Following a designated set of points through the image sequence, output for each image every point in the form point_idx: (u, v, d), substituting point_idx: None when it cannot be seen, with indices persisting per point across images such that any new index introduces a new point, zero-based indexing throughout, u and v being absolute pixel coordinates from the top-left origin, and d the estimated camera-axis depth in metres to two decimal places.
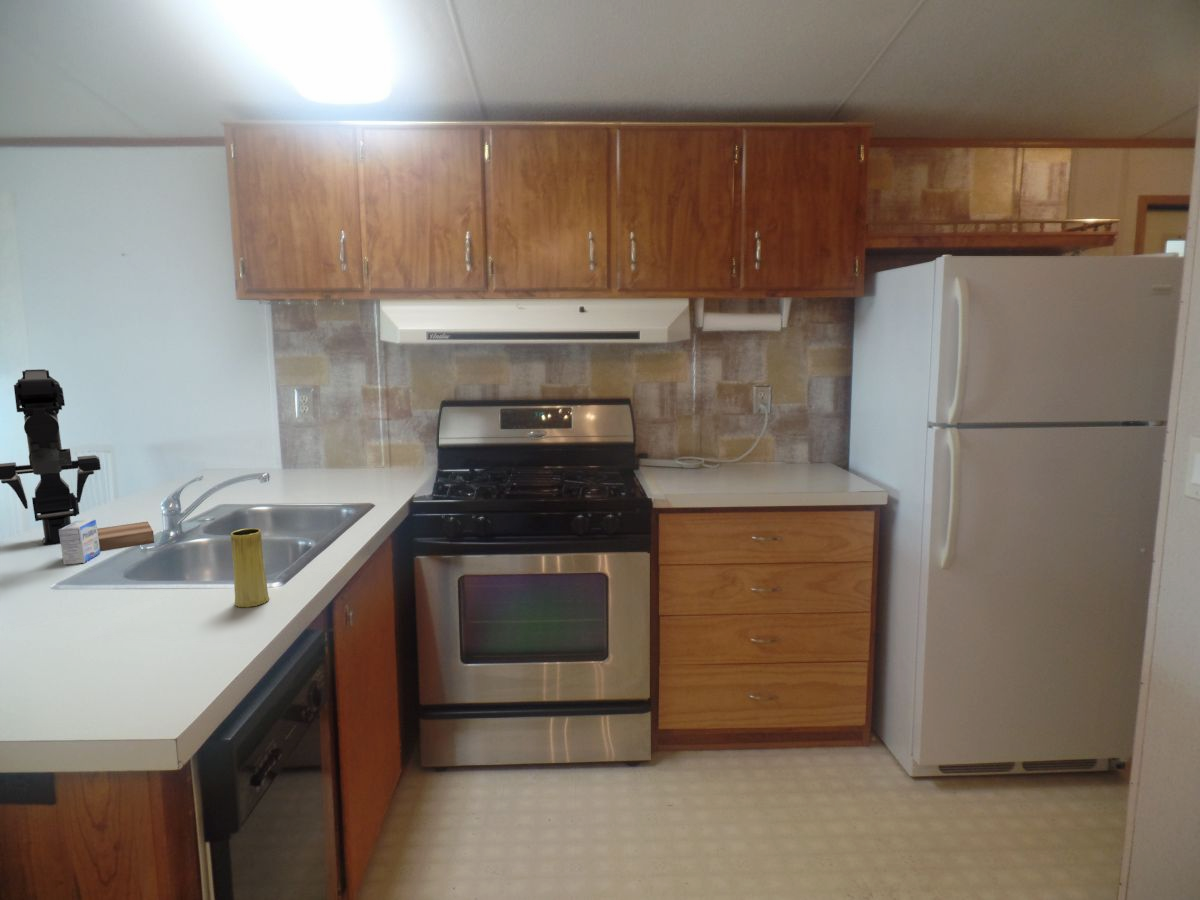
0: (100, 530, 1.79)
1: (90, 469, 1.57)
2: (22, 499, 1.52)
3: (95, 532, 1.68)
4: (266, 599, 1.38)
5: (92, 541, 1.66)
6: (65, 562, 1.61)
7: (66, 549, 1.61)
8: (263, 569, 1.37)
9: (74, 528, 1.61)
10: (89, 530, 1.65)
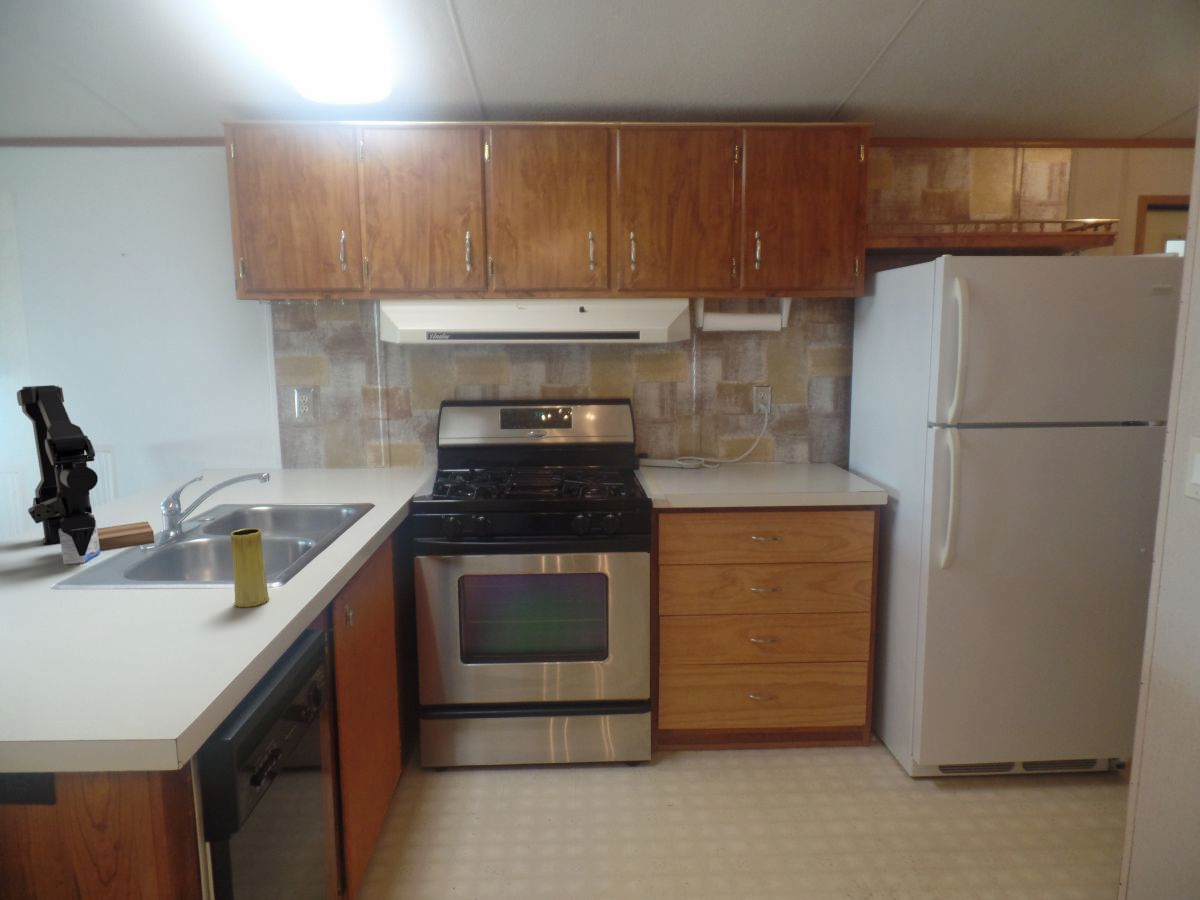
0: (100, 530, 1.79)
1: None
2: None
3: (95, 531, 1.68)
4: (266, 599, 1.38)
5: (91, 540, 1.66)
6: (65, 562, 1.61)
7: (66, 549, 1.61)
8: (263, 569, 1.37)
9: None
10: None
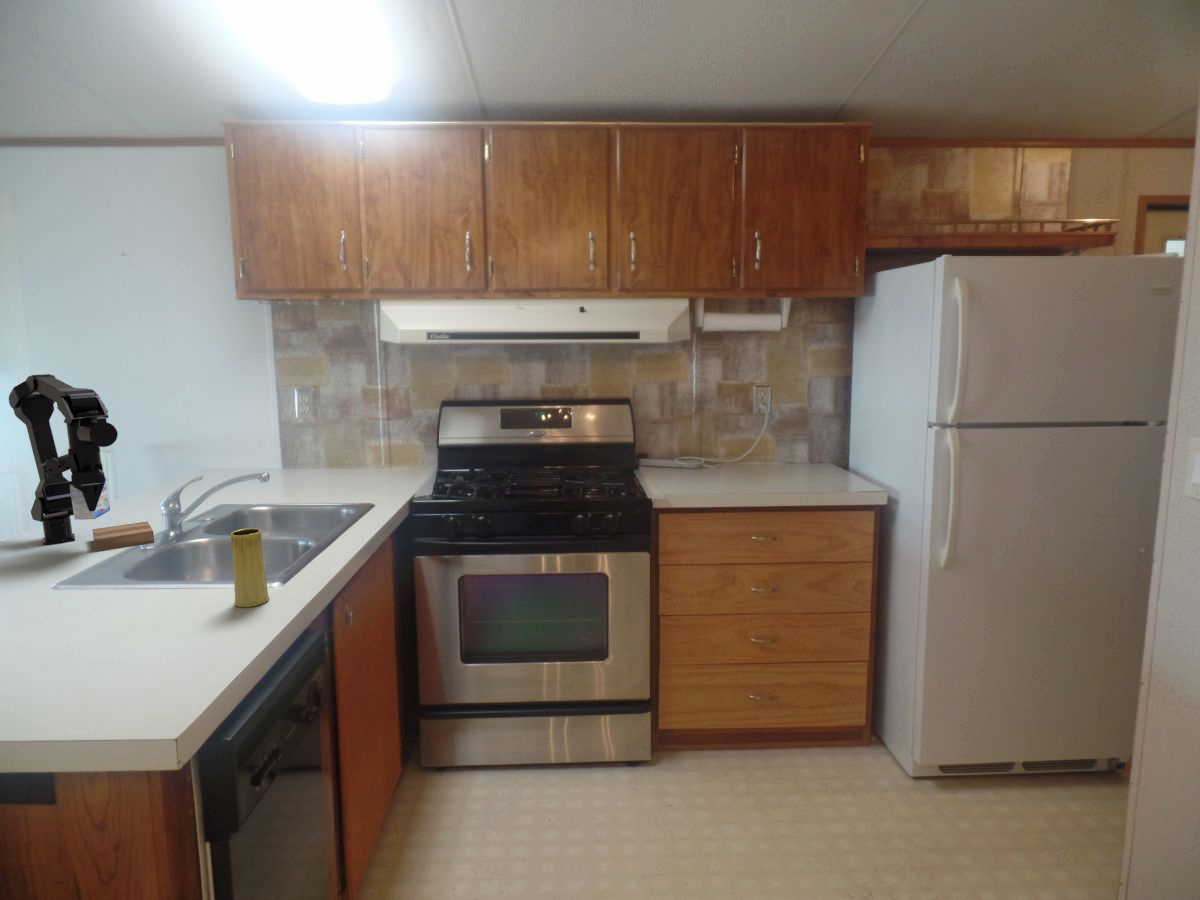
0: (100, 530, 1.79)
1: None
2: None
3: (105, 489, 1.71)
4: (266, 599, 1.38)
5: (102, 497, 1.69)
6: (76, 517, 1.65)
7: (77, 504, 1.64)
8: (263, 569, 1.37)
9: None
10: None
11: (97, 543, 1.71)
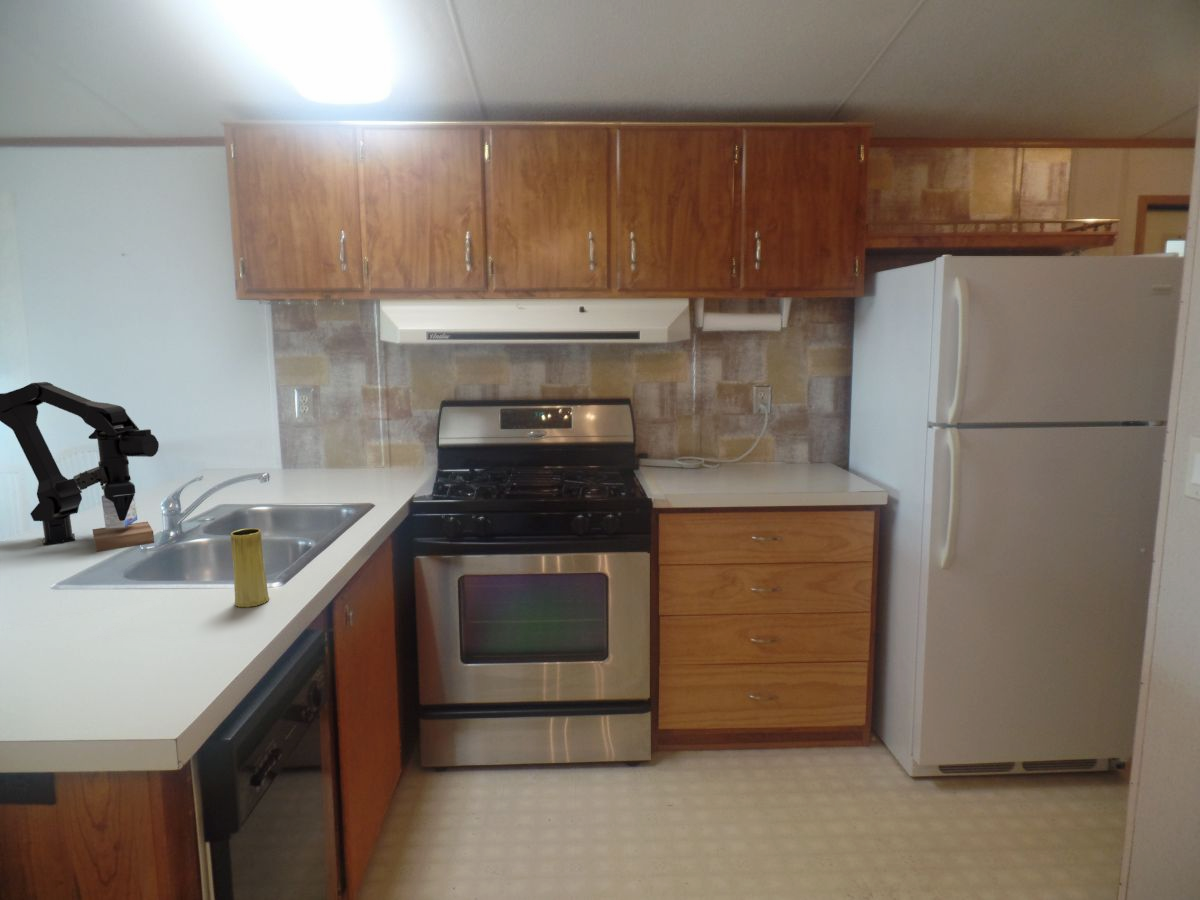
0: (100, 530, 1.79)
1: (104, 494, 1.70)
2: None
3: (133, 499, 1.81)
4: (266, 599, 1.38)
5: (130, 507, 1.79)
6: (107, 526, 1.75)
7: (108, 514, 1.74)
8: (263, 569, 1.37)
9: None
10: None
11: (97, 543, 1.71)
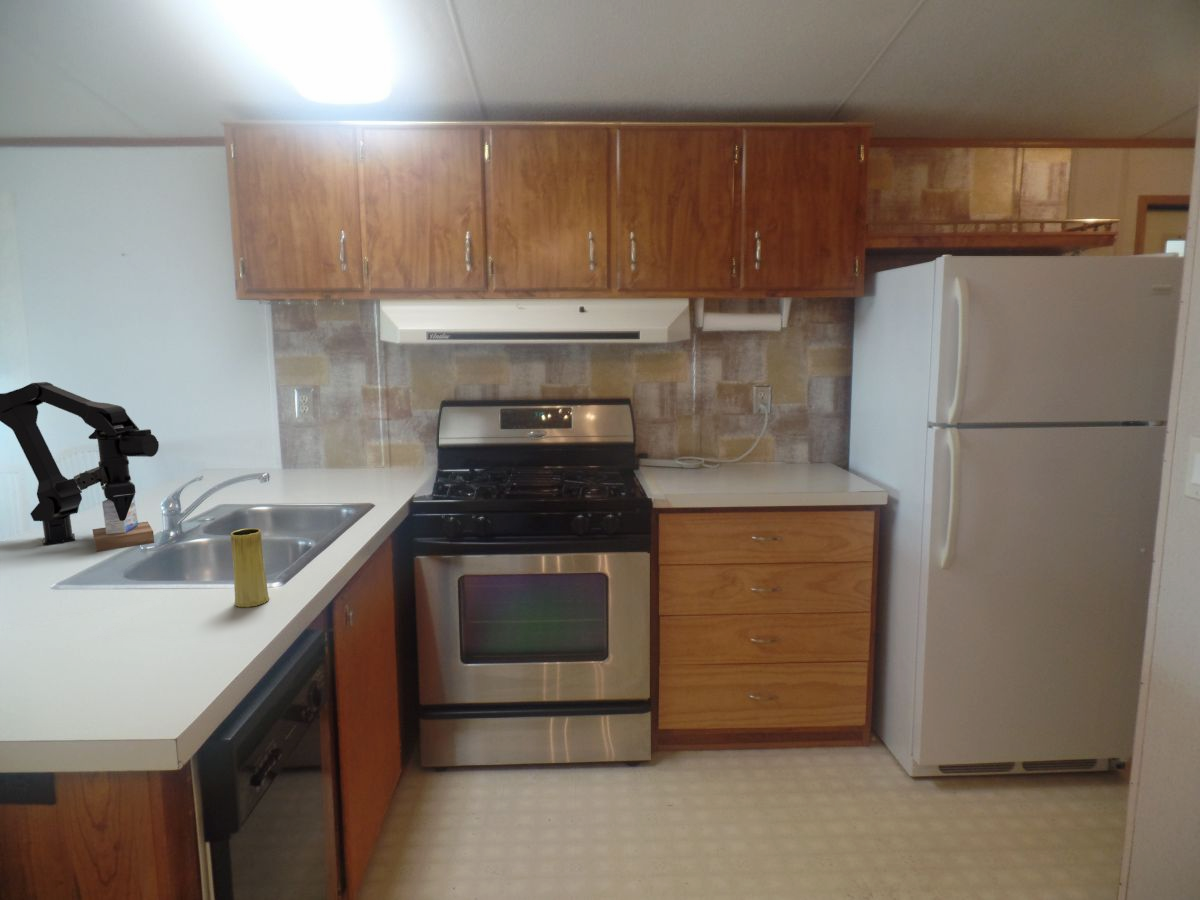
0: (100, 530, 1.79)
1: (104, 494, 1.70)
2: None
3: (133, 505, 1.81)
4: (266, 599, 1.38)
5: (131, 513, 1.79)
6: (108, 532, 1.75)
7: (109, 520, 1.75)
8: (263, 569, 1.37)
9: None
10: None
11: (97, 543, 1.71)
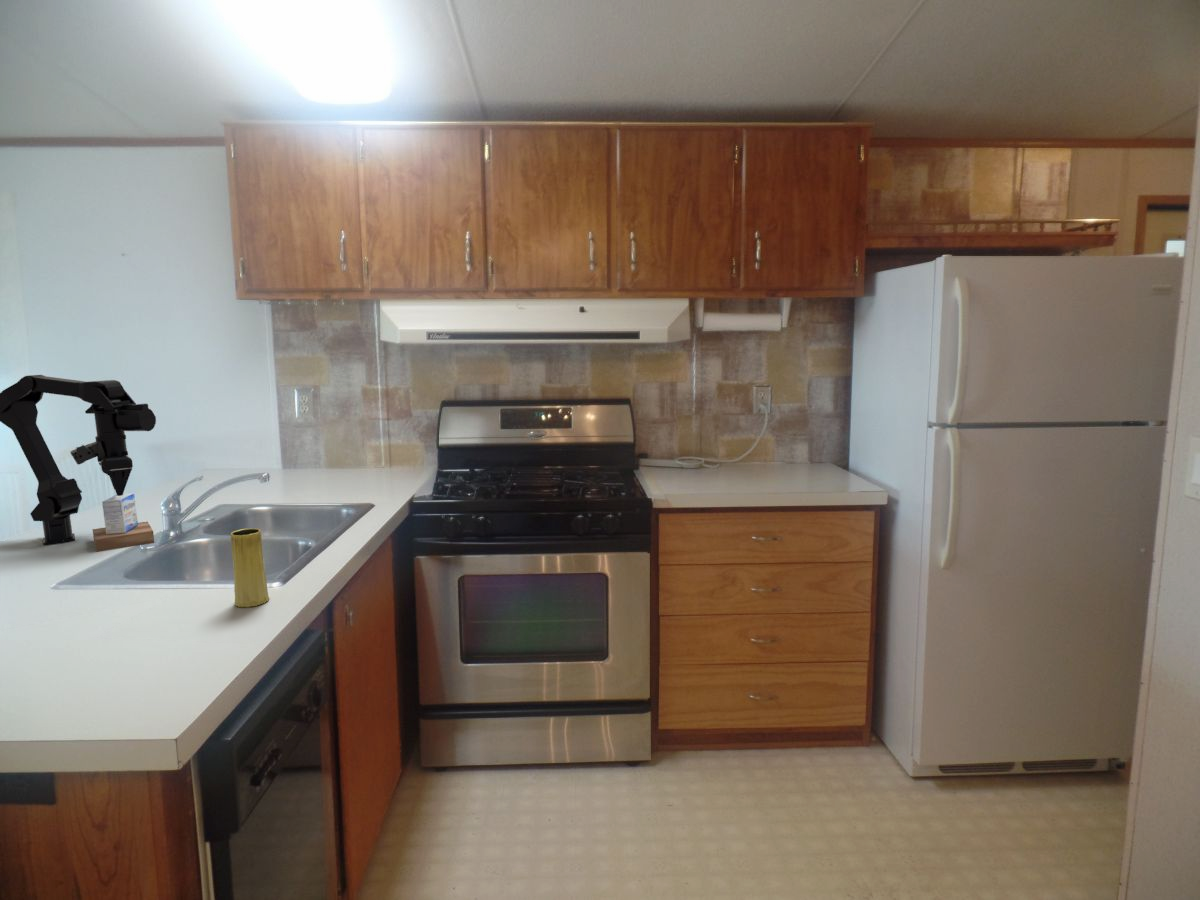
0: (100, 530, 1.79)
1: (101, 468, 1.69)
2: (111, 481, 1.80)
3: (133, 505, 1.81)
4: (266, 599, 1.38)
5: (131, 513, 1.79)
6: (108, 532, 1.75)
7: (109, 520, 1.75)
8: (263, 569, 1.37)
9: (116, 500, 1.74)
10: (129, 503, 1.79)
11: (97, 543, 1.71)
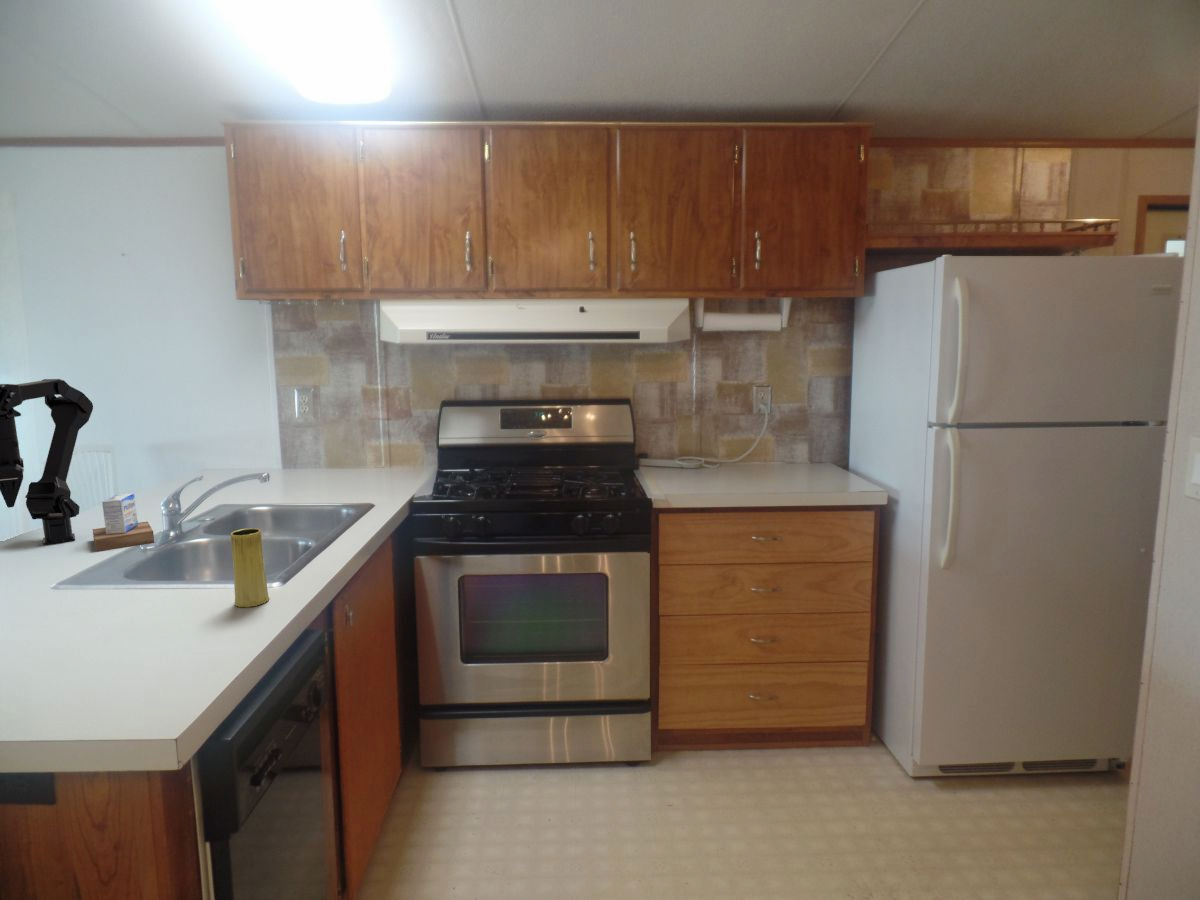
0: (100, 530, 1.79)
1: None
2: None
3: (133, 505, 1.81)
4: (266, 599, 1.38)
5: (131, 513, 1.79)
6: (108, 532, 1.75)
7: (109, 520, 1.75)
8: (263, 569, 1.37)
9: (116, 500, 1.74)
10: (129, 503, 1.79)
11: (97, 543, 1.71)
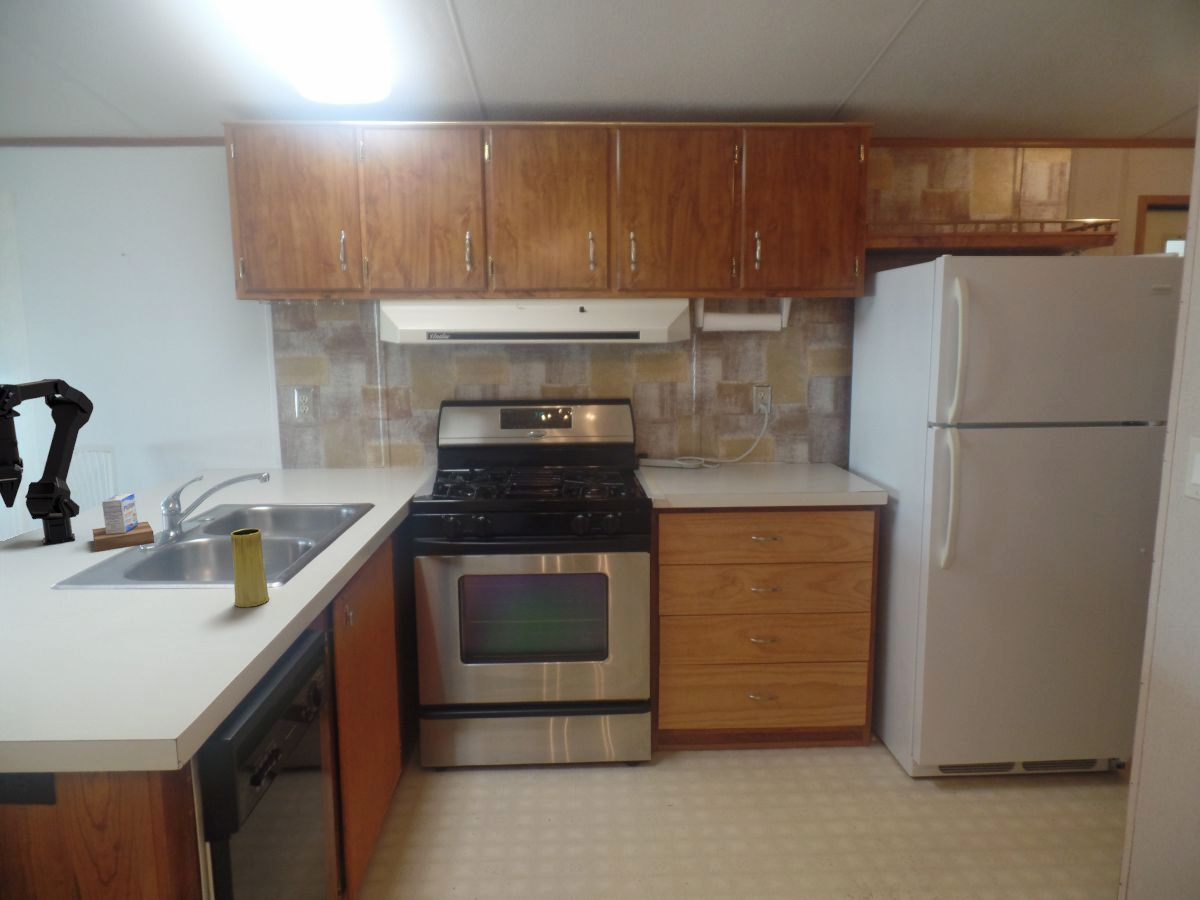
0: (100, 530, 1.79)
1: None
2: None
3: (133, 505, 1.81)
4: (266, 599, 1.38)
5: (131, 513, 1.79)
6: (108, 532, 1.75)
7: (109, 520, 1.75)
8: (263, 569, 1.37)
9: (116, 500, 1.74)
10: (129, 503, 1.79)
11: (97, 543, 1.71)
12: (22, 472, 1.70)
